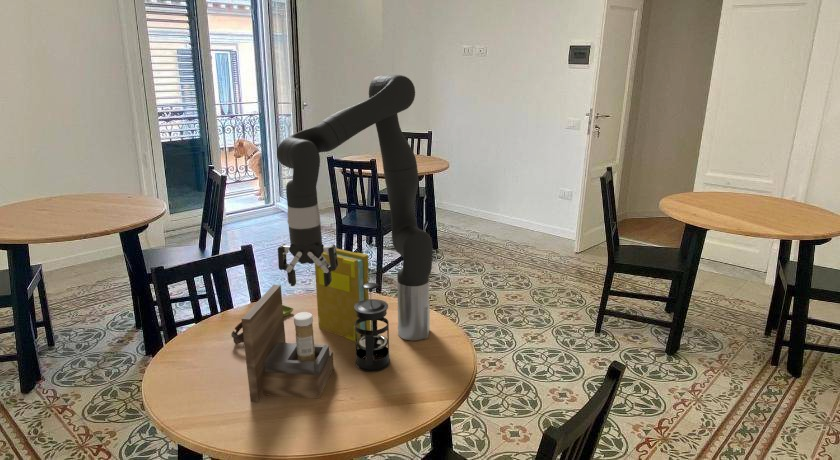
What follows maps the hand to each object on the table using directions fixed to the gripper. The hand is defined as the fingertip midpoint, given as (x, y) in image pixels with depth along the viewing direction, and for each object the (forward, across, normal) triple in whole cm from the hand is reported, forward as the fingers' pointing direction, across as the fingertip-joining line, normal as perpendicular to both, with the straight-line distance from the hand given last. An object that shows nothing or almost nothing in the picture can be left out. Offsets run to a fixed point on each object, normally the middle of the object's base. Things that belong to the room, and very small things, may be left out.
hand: (310, 285), depth 133 cm
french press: (+26, -13, -6) cm, 30 cm away
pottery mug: (+25, +24, -15) cm, 38 cm away
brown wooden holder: (+25, +5, +4) cm, 26 cm away
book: (+26, 0, -24) cm, 36 cm away
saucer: (+26, +24, -33) cm, 48 cm away
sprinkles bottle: (+20, +2, +3) cm, 21 cm away
